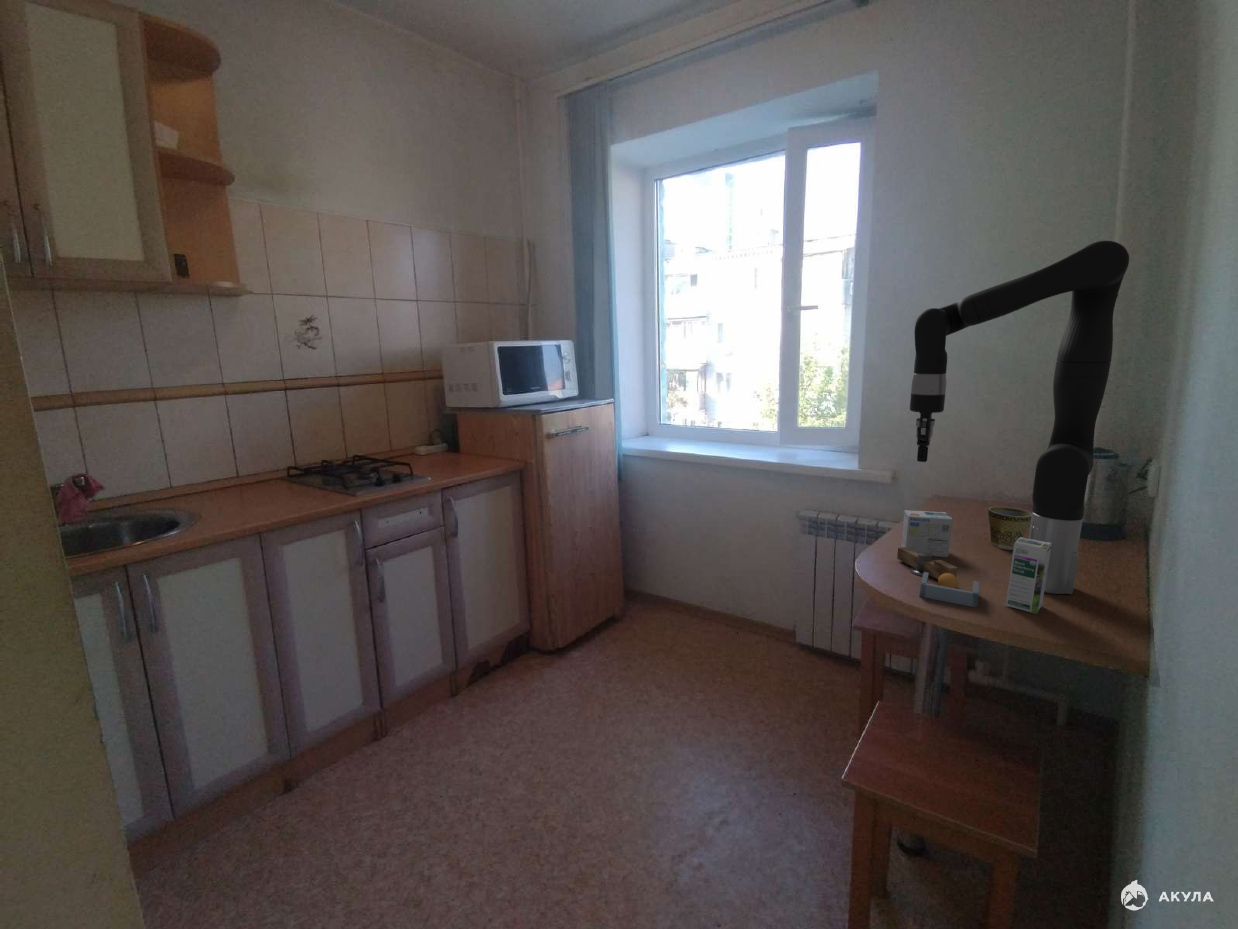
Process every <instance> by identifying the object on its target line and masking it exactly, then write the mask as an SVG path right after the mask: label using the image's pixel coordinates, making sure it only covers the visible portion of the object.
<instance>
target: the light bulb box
mask: <svg viewBox="0 0 1238 929" xmlns="http://www.w3.org/2000/svg"><path fill="white" fill-rule="evenodd" d="M952 523H953V518H952V516H950V515H949V514H948V513H947V512H945V511H925V510H909V509H904V515H903V525H902V526H903V527H902V535H901V547H906V548H908V549H910V550H912V551H914V552H916V553H918V554H919V553H926V554H929V555H931V556H932V557H939V558H940V557H941V558H948V557H949V555H950V543H951V535H952V527H953V526H952Z"/></svg>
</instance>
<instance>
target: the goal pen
mask: <svg viewBox="0 0 1238 929" xmlns="http://www.w3.org/2000/svg"><path fill="white" fill-rule="evenodd" d="M928 574H929V573H927V572H924V573H923V576H921V580H920V586H919V587H920V589H919V597H921V598H925V599H926V598H927V599H929V600H936V601H940V602H944V603H952V604H955V605H961V606H967V607H972V608H976V609H977V608H978V604H979V596H980V581H977V580H973V584H972V591H970V590H965V589H958V588H956V589H955V588H949V587H944V586H939V584H938V585H936V584H932V583H928V581H929V577H928Z"/></svg>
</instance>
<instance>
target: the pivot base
mask: <svg viewBox="0 0 1238 929" xmlns="http://www.w3.org/2000/svg"><path fill="white" fill-rule="evenodd" d="M909 572H910V573H911V574H913V575H915V576H918V575H919V576H920V577H923V573H924V572H921V571H918V570H917V569H916V568H914V567H912V566H911V567H909ZM928 578H933V577H932V576H930V575H928Z"/></svg>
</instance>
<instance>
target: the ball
mask: <svg viewBox="0 0 1238 929" xmlns="http://www.w3.org/2000/svg"><path fill="white" fill-rule="evenodd" d="M958 580H959V579H958V577H955V576H954V575H952V574H949V573H945V574H942V575H941V576H940V577H939V579H937V583H938V586H944V587H949V588H955V589H958V587H959V581H958Z"/></svg>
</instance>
